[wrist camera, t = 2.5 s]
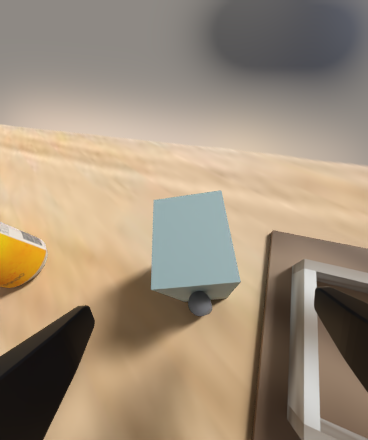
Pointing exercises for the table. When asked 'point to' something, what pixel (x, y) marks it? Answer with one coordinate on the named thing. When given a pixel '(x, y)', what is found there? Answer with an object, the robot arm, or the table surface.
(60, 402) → the robot arm
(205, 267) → the pale blue box
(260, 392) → the brown framed base board
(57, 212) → the table surface
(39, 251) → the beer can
